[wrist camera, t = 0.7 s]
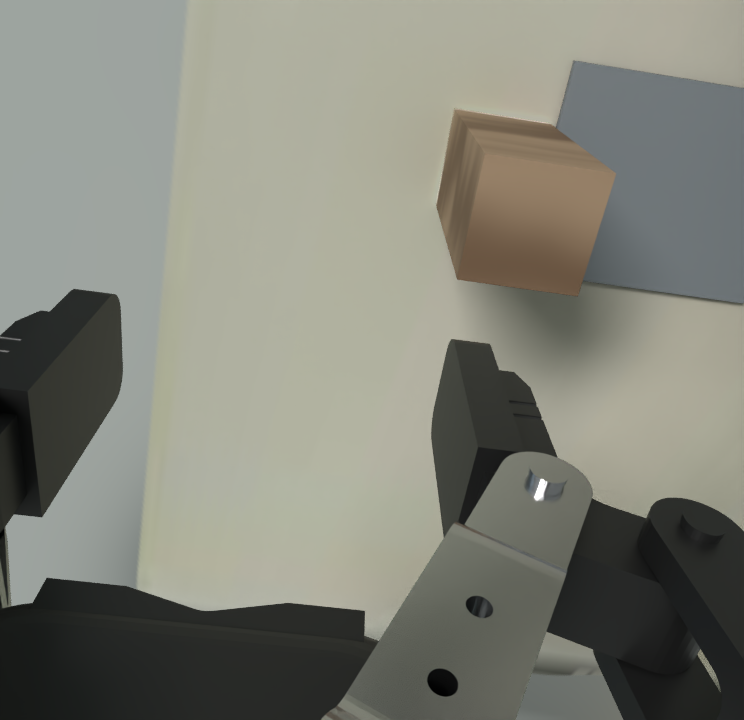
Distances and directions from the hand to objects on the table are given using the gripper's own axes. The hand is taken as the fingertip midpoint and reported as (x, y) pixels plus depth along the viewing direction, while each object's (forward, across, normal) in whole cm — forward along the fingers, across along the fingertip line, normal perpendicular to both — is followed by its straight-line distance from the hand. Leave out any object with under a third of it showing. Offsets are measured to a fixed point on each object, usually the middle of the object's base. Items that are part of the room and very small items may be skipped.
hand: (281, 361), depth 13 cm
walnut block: (+22, -7, 0) cm, 23 cm away
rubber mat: (+22, -16, 0) cm, 27 cm away
